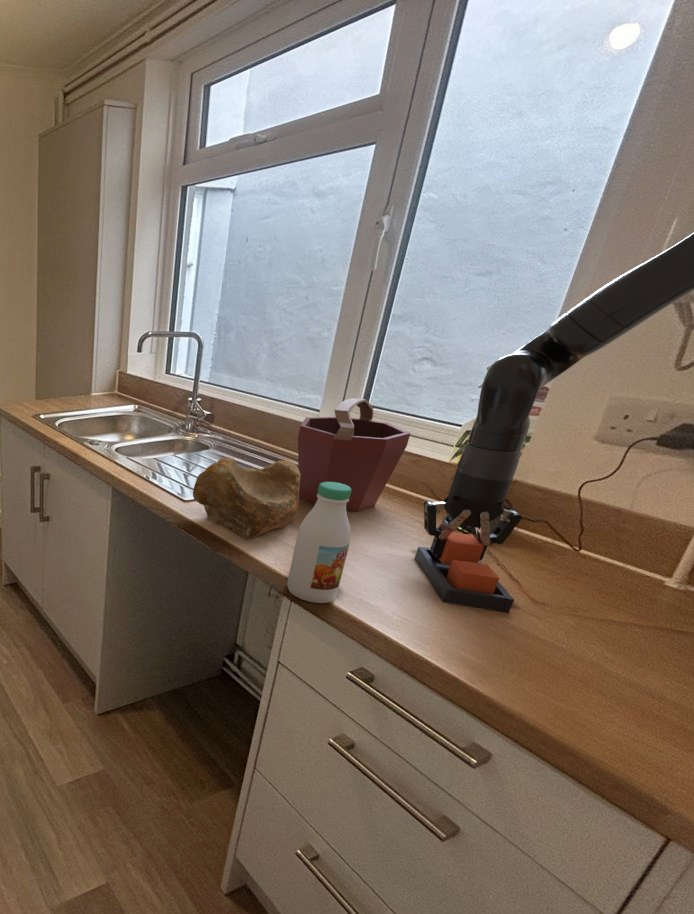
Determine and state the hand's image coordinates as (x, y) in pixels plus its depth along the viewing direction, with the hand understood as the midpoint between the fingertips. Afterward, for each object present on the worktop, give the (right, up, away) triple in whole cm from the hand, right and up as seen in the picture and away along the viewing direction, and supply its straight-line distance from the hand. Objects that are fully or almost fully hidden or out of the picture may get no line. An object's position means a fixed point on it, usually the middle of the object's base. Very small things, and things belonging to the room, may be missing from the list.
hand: (454, 558), depth 97 cm
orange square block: (-3, -5, -6) cm, 8 cm away
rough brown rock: (-30, +5, +20) cm, 36 cm away
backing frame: (-1, -4, -2) cm, 5 cm away
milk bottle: (-29, -6, -5) cm, 30 cm away
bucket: (-1, +12, +36) cm, 38 cm away
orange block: (0, 0, 0) cm, 0 cm away
